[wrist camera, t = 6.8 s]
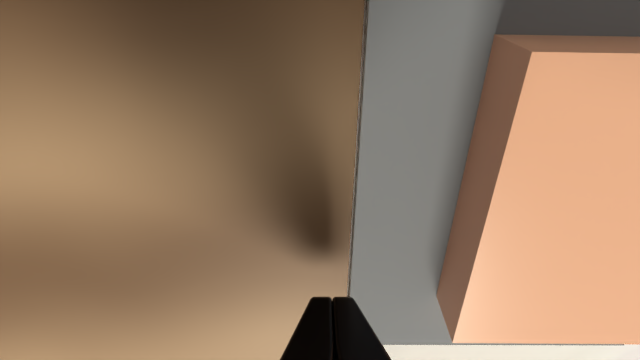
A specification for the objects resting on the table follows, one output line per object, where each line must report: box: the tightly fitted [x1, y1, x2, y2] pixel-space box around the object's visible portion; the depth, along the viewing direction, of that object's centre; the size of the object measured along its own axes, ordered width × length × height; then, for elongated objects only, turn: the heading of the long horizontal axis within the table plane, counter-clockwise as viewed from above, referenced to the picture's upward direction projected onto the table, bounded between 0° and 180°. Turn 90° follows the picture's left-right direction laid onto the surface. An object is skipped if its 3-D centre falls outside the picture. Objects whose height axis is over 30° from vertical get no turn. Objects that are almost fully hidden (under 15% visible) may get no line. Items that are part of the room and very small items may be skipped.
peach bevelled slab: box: [436, 34, 640, 344], centre depth 11 cm, size 9×6×2 cm, turn 179°
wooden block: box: [0, 0, 365, 360], centre depth 11 cm, size 16×12×4 cm
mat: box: [348, 0, 640, 345], centre depth 12 cm, size 14×11×1 cm
